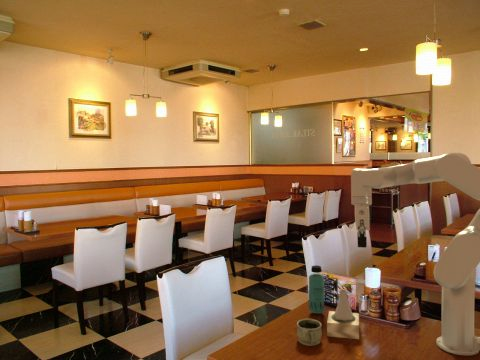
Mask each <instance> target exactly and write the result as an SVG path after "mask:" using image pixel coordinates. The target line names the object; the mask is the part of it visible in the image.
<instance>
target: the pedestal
mask: <svg viewBox="0 0 480 360" xmlns="http://www.w3.org/2000/svg"><path fill="white" fill-rule="evenodd" d="M335 311H336V310H335ZM335 311H334V310H333V311H332V310H328V315H327V321H326V329H327V330H326V331H327V332H326V333H327V337H333V338H344V339H345V338H346V339H353V340H360V313H358V312H352V313H353V316H354V318H353V319H352V320H347V321H343V320H338V319H336V318H335V317H334V314H335Z"/></svg>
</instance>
